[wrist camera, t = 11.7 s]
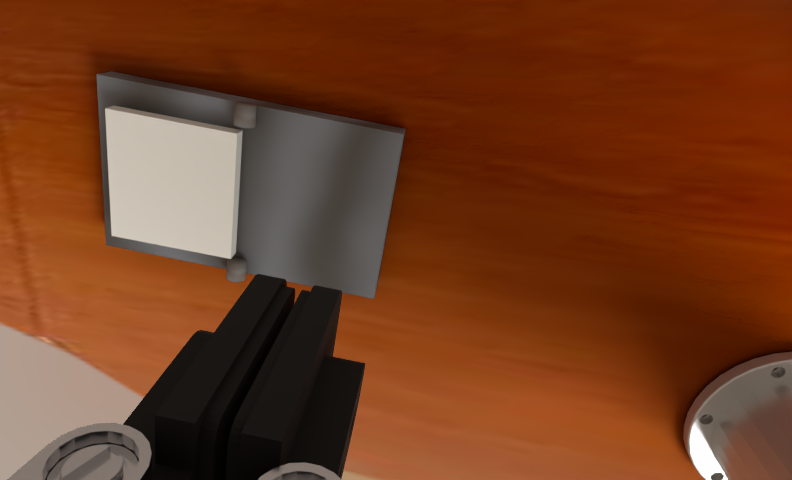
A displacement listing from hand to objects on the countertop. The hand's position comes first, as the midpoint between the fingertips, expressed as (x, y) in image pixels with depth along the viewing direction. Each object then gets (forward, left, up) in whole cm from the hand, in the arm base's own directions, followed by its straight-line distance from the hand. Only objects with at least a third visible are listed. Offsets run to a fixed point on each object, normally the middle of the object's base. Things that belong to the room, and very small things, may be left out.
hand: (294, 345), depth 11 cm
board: (+8, +6, -23) cm, 25 cm away
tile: (+12, +6, -20) cm, 25 cm away
